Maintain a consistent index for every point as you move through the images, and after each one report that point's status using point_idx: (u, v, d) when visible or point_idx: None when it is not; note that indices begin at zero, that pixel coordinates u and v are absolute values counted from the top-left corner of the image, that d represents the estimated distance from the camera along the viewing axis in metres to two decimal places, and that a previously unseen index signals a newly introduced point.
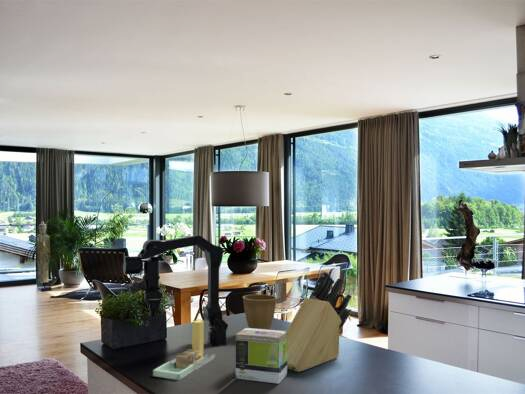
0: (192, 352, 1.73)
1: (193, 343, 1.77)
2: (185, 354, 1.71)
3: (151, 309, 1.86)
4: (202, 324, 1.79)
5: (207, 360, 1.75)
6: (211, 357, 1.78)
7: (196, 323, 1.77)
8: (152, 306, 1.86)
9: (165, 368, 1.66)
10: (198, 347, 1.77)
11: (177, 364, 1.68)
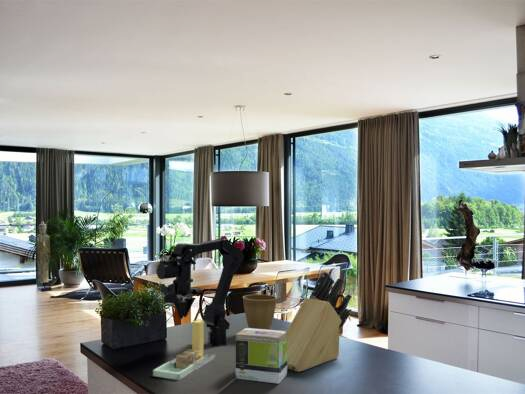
0: (192, 352, 1.73)
1: (193, 343, 1.77)
2: (185, 354, 1.71)
3: (178, 311, 1.88)
4: (202, 324, 1.79)
5: (207, 360, 1.75)
6: (211, 357, 1.78)
7: (196, 323, 1.77)
8: (178, 308, 1.88)
9: (165, 368, 1.66)
10: (198, 347, 1.77)
11: (177, 364, 1.68)
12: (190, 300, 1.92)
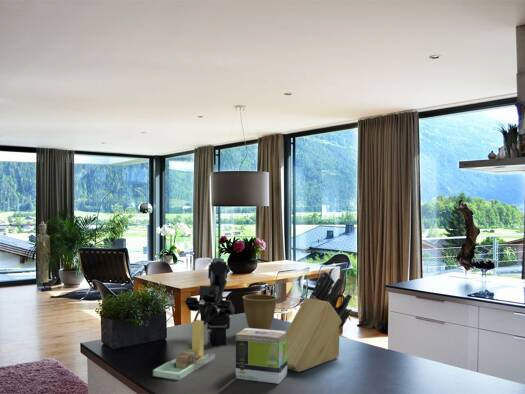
0: (192, 352, 1.73)
1: (193, 343, 1.77)
2: (185, 354, 1.71)
3: (207, 318, 1.83)
4: (202, 324, 1.79)
5: (207, 360, 1.75)
6: (211, 357, 1.78)
7: (196, 323, 1.77)
8: (208, 315, 1.84)
9: (165, 368, 1.66)
10: (198, 347, 1.77)
11: (177, 364, 1.68)
12: None
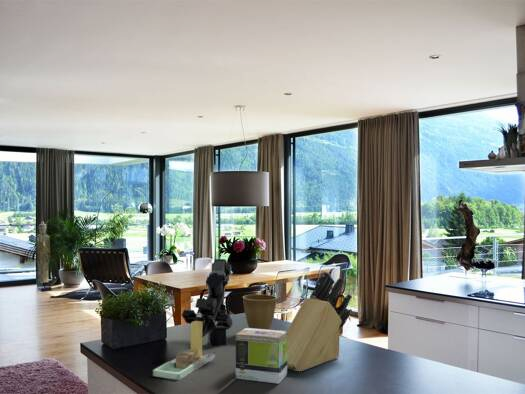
0: (191, 352, 1.73)
1: (192, 344, 1.77)
2: (185, 354, 1.71)
3: (204, 331, 1.81)
4: (201, 325, 1.78)
5: (207, 360, 1.75)
6: (211, 357, 1.78)
7: (195, 324, 1.76)
8: (206, 328, 1.81)
9: (165, 368, 1.66)
10: (196, 347, 1.76)
11: (177, 364, 1.68)
12: None
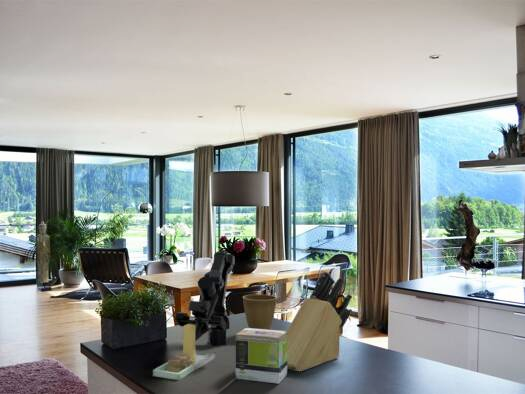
0: (184, 356, 1.68)
1: (185, 348, 1.72)
2: (178, 358, 1.66)
3: (197, 334, 1.76)
4: (194, 328, 1.73)
5: (207, 360, 1.75)
6: (211, 357, 1.78)
7: (187, 327, 1.72)
8: (199, 332, 1.77)
9: (165, 368, 1.66)
10: (189, 351, 1.71)
11: (169, 368, 1.64)
12: None
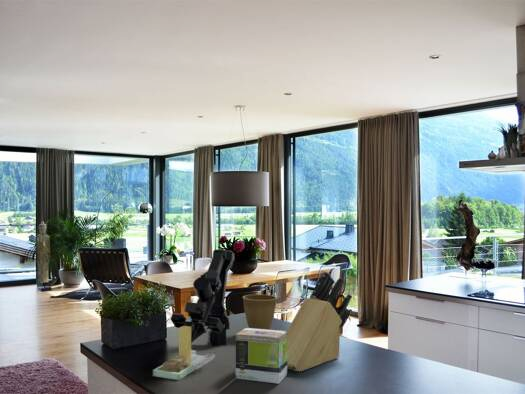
0: (179, 359, 1.65)
1: (180, 350, 1.69)
2: (173, 360, 1.64)
3: (194, 336, 1.73)
4: (189, 330, 1.70)
5: (207, 360, 1.75)
6: (211, 357, 1.78)
7: (183, 329, 1.69)
8: (195, 333, 1.74)
9: None
10: (185, 354, 1.68)
11: None
12: None
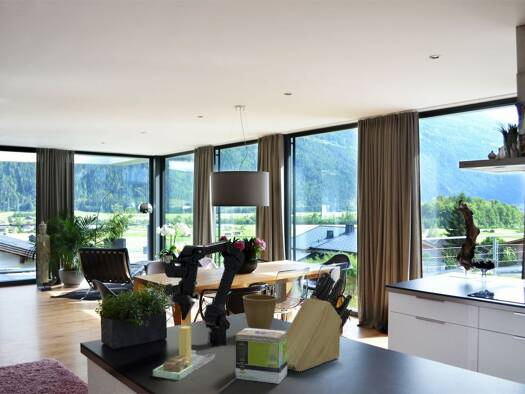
0: (179, 359, 1.65)
1: (180, 350, 1.69)
2: (173, 360, 1.64)
3: (182, 312, 1.87)
4: (189, 330, 1.70)
5: (207, 360, 1.75)
6: (211, 357, 1.78)
7: (183, 329, 1.69)
8: (183, 309, 1.87)
9: None
10: (185, 354, 1.68)
11: None
12: (191, 303, 1.89)
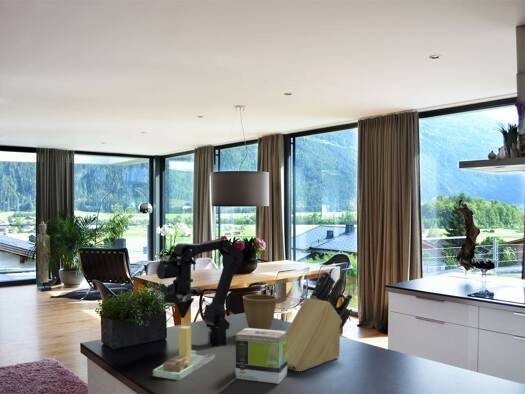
0: (179, 359, 1.65)
1: (180, 350, 1.69)
2: (173, 360, 1.64)
3: (180, 310, 1.90)
4: (189, 330, 1.70)
5: (207, 360, 1.75)
6: (211, 357, 1.78)
7: (183, 329, 1.69)
8: (180, 307, 1.89)
9: None
10: (185, 354, 1.68)
11: None
12: None
